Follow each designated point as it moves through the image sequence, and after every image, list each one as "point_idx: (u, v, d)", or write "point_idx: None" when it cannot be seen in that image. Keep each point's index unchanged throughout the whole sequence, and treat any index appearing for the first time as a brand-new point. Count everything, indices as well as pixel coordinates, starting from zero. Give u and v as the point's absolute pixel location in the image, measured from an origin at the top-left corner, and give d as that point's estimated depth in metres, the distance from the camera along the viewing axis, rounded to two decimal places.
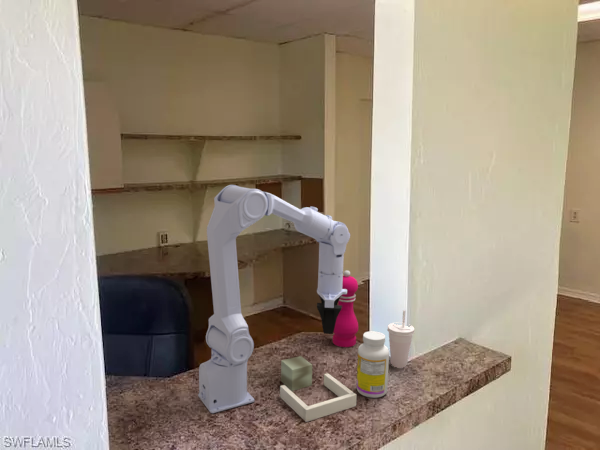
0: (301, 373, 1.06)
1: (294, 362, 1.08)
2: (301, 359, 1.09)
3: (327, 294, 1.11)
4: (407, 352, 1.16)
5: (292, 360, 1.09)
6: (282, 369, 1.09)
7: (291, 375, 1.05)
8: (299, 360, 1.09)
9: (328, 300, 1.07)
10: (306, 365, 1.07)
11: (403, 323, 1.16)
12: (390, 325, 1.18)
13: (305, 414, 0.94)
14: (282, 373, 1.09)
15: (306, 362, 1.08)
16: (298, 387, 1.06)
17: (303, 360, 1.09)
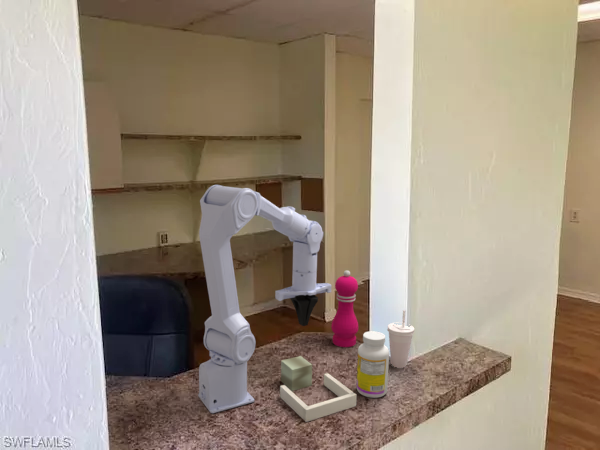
0: (301, 373, 1.06)
1: (294, 362, 1.08)
2: (301, 359, 1.09)
3: None
4: (407, 352, 1.16)
5: (292, 360, 1.09)
6: (282, 369, 1.09)
7: (291, 375, 1.05)
8: (299, 360, 1.09)
9: (276, 292, 1.13)
10: (306, 365, 1.07)
11: (403, 323, 1.16)
12: (390, 325, 1.18)
13: (305, 414, 0.94)
14: (282, 373, 1.09)
15: (306, 362, 1.08)
16: (298, 387, 1.06)
17: (303, 360, 1.09)
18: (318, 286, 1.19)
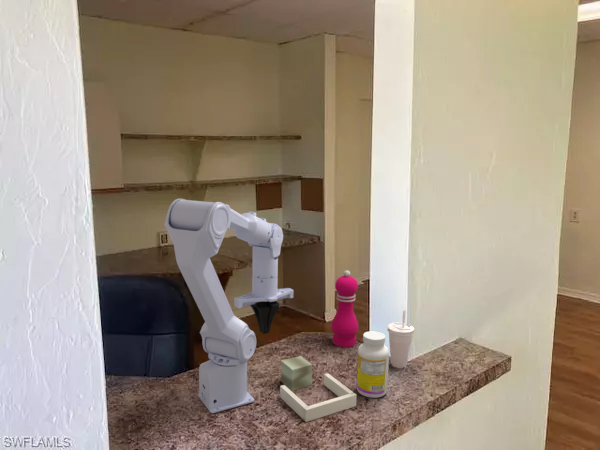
0: (301, 373, 1.06)
1: (294, 362, 1.08)
2: (301, 359, 1.09)
3: (251, 296, 1.10)
4: (407, 352, 1.16)
5: (292, 360, 1.09)
6: (282, 369, 1.09)
7: (291, 375, 1.05)
8: (299, 360, 1.09)
9: (235, 299, 1.07)
10: (306, 365, 1.07)
11: (403, 323, 1.16)
12: (390, 325, 1.18)
13: (305, 414, 0.94)
14: (282, 373, 1.09)
15: (306, 362, 1.08)
16: (298, 387, 1.06)
17: (303, 360, 1.09)
18: (279, 291, 1.13)
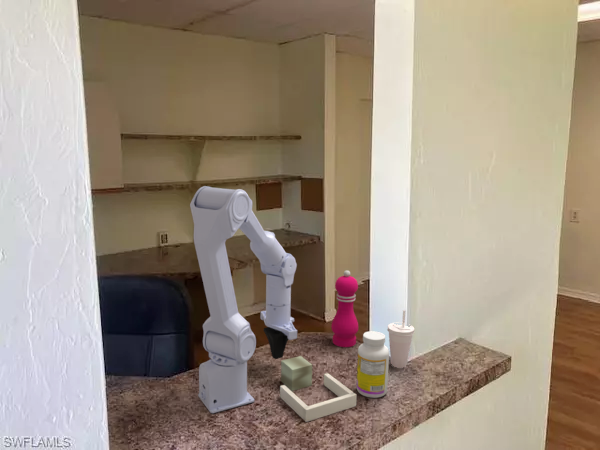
0: (301, 373, 1.06)
1: (294, 362, 1.08)
2: (301, 359, 1.09)
3: (282, 326, 1.11)
4: (407, 352, 1.16)
5: (292, 360, 1.09)
6: (282, 369, 1.09)
7: (291, 375, 1.05)
8: (299, 360, 1.09)
9: (292, 332, 1.08)
10: (306, 365, 1.07)
11: (403, 323, 1.16)
12: (390, 325, 1.18)
13: (305, 414, 0.94)
14: (282, 373, 1.09)
15: (306, 362, 1.08)
16: (298, 387, 1.06)
17: (303, 360, 1.09)
18: None
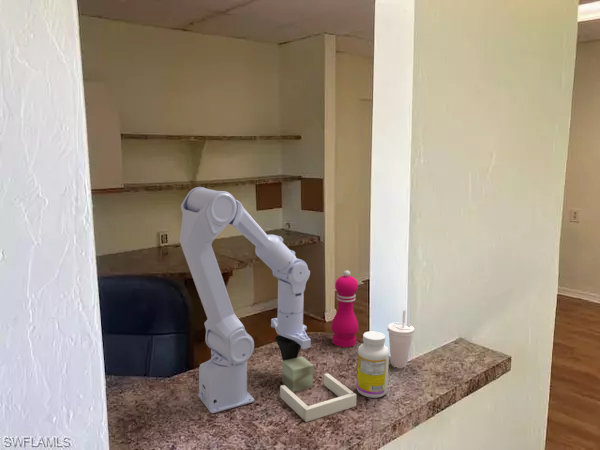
0: (303, 374, 1.05)
1: (296, 363, 1.07)
2: (302, 359, 1.09)
3: (294, 334, 1.07)
4: (407, 352, 1.16)
5: (293, 360, 1.08)
6: (283, 369, 1.08)
7: (292, 376, 1.05)
8: (300, 361, 1.08)
9: (306, 341, 1.03)
10: (307, 366, 1.06)
11: (403, 323, 1.16)
12: (390, 325, 1.18)
13: (305, 414, 0.94)
14: (283, 373, 1.08)
15: (307, 362, 1.08)
16: (299, 388, 1.06)
17: (304, 360, 1.09)
18: None
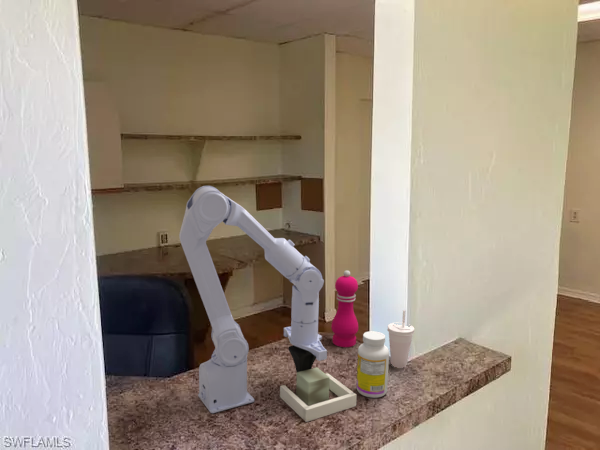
0: (318, 387, 1.00)
1: (311, 375, 1.02)
2: (317, 371, 1.04)
3: (309, 345, 1.01)
4: (407, 352, 1.16)
5: (308, 372, 1.03)
6: (297, 381, 1.03)
7: (307, 388, 1.00)
8: (315, 372, 1.03)
9: (322, 352, 0.98)
10: (323, 378, 1.01)
11: (403, 323, 1.16)
12: (390, 325, 1.18)
13: (305, 414, 0.94)
14: (297, 386, 1.03)
15: (323, 374, 1.02)
16: (314, 401, 1.00)
17: (320, 372, 1.03)
18: None
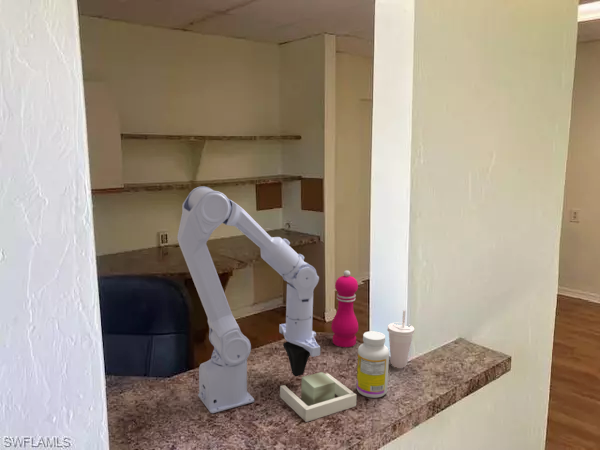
0: (324, 392, 0.99)
1: (316, 379, 1.00)
2: (323, 376, 1.02)
3: (303, 341, 1.03)
4: (407, 352, 1.16)
5: (313, 377, 1.01)
6: (302, 386, 1.01)
7: (312, 394, 0.98)
8: (321, 377, 1.01)
9: (315, 348, 1.00)
10: (328, 383, 0.99)
11: (403, 323, 1.16)
12: (390, 325, 1.18)
13: (305, 414, 0.94)
14: (302, 391, 1.01)
15: (328, 379, 1.01)
16: None
17: (325, 377, 1.02)
18: None
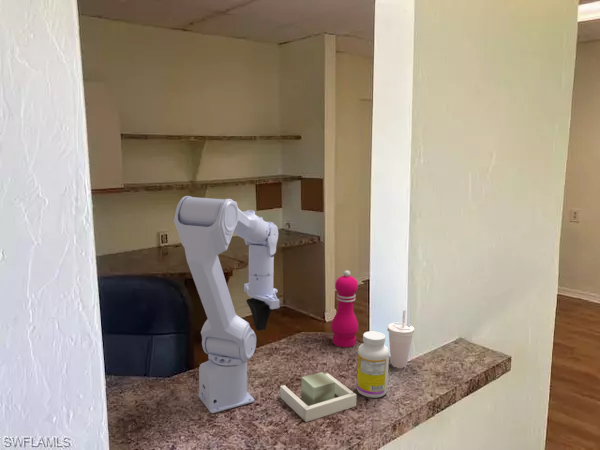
0: (323, 392, 0.98)
1: (316, 379, 1.00)
2: (323, 376, 1.02)
3: (264, 296, 1.10)
4: (407, 352, 1.16)
5: (313, 377, 1.01)
6: (302, 386, 1.01)
7: (312, 394, 0.98)
8: (321, 377, 1.01)
9: (274, 301, 1.07)
10: (328, 382, 0.99)
11: (403, 323, 1.16)
12: (390, 325, 1.18)
13: (305, 414, 0.94)
14: (302, 391, 1.01)
15: (328, 379, 1.01)
16: None
17: (325, 377, 1.02)
18: None
